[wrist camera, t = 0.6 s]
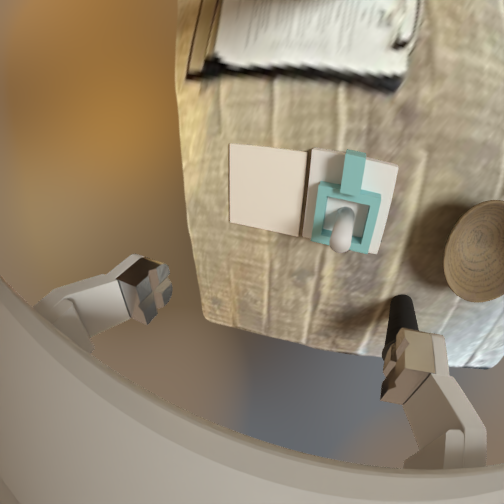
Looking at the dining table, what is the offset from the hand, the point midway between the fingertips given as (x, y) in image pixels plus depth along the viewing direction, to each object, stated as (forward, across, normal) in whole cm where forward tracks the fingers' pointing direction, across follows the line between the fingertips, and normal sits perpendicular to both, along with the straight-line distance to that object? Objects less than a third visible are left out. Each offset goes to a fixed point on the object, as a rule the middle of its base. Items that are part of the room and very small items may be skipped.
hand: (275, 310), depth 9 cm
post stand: (+39, -1, +10) cm, 41 cm away
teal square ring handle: (+37, -2, +9) cm, 38 cm away
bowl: (+40, -28, +10) cm, 49 cm away
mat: (+39, +14, +11) cm, 43 cm away
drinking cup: (+40, -18, +29) cm, 52 cm away
